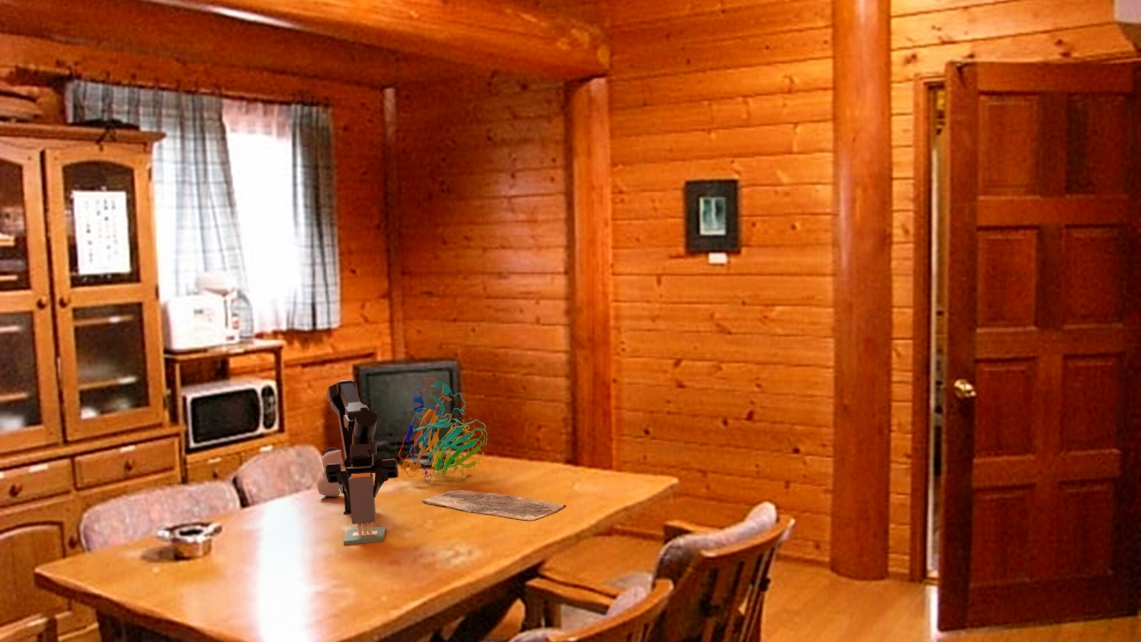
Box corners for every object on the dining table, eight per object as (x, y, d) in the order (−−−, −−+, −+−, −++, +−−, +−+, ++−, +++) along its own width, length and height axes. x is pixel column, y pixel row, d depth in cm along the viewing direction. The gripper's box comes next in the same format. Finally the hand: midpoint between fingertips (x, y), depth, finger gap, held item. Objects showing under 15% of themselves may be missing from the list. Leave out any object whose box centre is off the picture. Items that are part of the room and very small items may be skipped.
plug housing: (353, 520, 267) (349, 473, 266) (376, 518, 268) (372, 471, 267) (352, 524, 264) (348, 476, 263) (375, 522, 264) (371, 474, 264)
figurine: (352, 493, 317) (349, 446, 315) (329, 501, 308) (325, 453, 307) (333, 491, 321) (329, 445, 320) (309, 499, 313) (305, 451, 312)
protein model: (514, 398, 338) (443, 362, 320) (499, 490, 323) (423, 459, 305) (457, 416, 358) (387, 383, 341) (440, 504, 343) (366, 475, 325)
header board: (348, 533, 271) (347, 518, 271) (385, 529, 272) (384, 515, 272) (343, 544, 260) (342, 529, 260) (382, 541, 261) (381, 526, 261)
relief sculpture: (529, 522, 271) (529, 520, 271) (416, 502, 300) (416, 499, 300) (573, 507, 286) (573, 504, 286) (461, 488, 315) (461, 486, 315)
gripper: (323, 434, 267) (321, 484, 257) (394, 429, 269) (395, 478, 259) (329, 457, 275) (327, 507, 265) (398, 452, 277) (398, 501, 267)
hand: (361, 498), depth 264 cm, fingers closed on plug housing, 6 cm apart
